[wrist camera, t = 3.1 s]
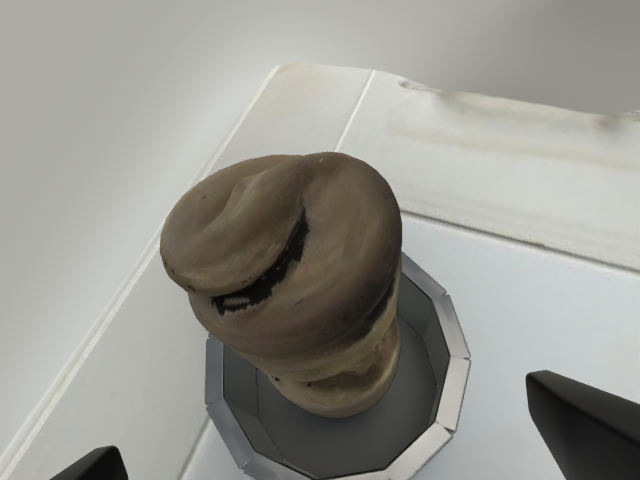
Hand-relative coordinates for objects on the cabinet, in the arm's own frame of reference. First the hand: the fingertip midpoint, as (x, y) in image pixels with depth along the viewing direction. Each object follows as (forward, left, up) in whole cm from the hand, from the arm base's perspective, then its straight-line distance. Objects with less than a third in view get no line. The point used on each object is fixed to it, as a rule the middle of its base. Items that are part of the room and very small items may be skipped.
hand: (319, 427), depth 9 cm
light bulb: (+3, -2, -12) cm, 13 cm away
